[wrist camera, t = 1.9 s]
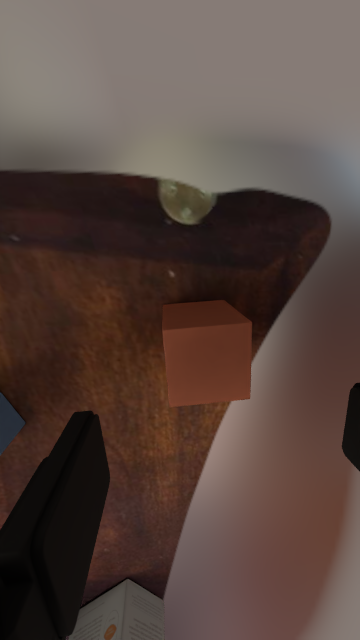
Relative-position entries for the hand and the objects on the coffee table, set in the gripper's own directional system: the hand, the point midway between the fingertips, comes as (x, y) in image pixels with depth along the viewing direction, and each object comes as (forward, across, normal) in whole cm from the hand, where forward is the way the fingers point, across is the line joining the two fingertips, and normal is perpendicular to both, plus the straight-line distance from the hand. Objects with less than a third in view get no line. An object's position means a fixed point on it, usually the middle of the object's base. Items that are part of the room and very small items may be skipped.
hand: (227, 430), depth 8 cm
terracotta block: (+9, 0, -1) cm, 9 cm away
